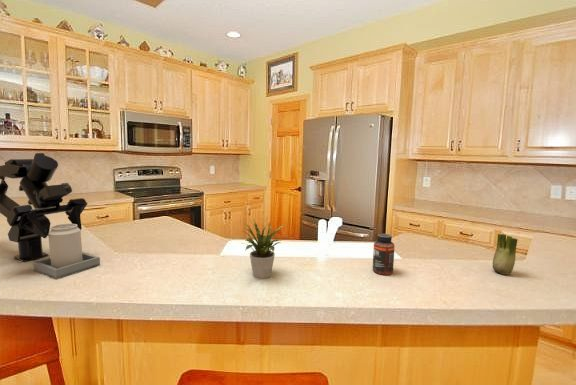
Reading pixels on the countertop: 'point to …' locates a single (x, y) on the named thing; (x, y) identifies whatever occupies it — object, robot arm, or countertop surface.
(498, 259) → the fennel bulb
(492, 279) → the countertop surface
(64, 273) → the tray
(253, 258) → the house plant
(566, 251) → the countertop surface
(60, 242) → the can
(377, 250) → the supplement bottle
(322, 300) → the countertop surface
